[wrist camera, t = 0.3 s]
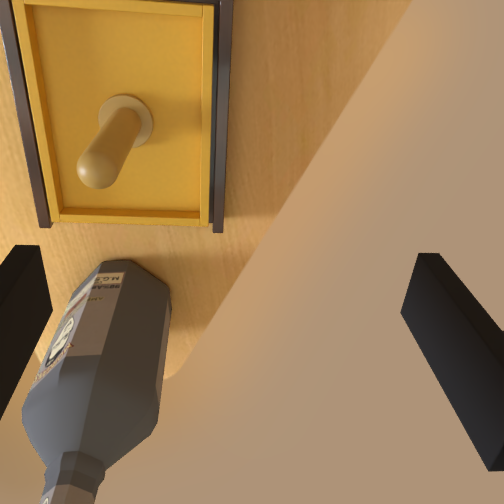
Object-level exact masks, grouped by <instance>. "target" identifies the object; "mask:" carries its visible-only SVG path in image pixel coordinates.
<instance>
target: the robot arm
mask: <svg viewBox="0 0 504 504" xmlns="http://www.w3.org/2000/svg"><path fill="white" fill-rule="evenodd" d="M52 312H53V308H52V304H51V299H50V294H49V289H48V284H47V280H46V275H45V270H44V265H43V260H42V256H41V251H40V246H39V245H15V246H14V247H13V249H12V250H11V251H10V253H9V254H8V255H7V257H6V258H5V260H4V261H3V262H2V264H1V265H0V420H1V418H2V416H3V413H4V411H5V409H6V407H7V405H8V403H9V401H10V399H11V397H12V395H13V393H14V390H15V388H16V386H17V384H18V382H19V380H20V378H21V376H22V374H23V372H24V370H25V368H26V365H27V363H28V361H29V359H30V357H31V355H32V353H33V351H34V349H35V347H36V345H37V343H38V341H39V339H40V337H41V334H42V332H43V330H44V328H45V326H46V324H47V322H48V320H49V318H50V316H51V314H52ZM401 315H402V316H403V318H404V320H405V321H406V324H407V325H408V327H409V329H410V331H411V333H412V335H413V336H414V338H415V340H416V342H417V344H418V345H419V347H420V349H421V351H422V353H423V354H424V356H425V358H426V360H427V362H428V363H429V365H430V367H431V369H432V371H433V372H434V374H435V376H436V378H437V380H438V381H439V383H440V385H441V387H442V389H443V390H444V392H445V394H446V396H447V398H448V399H449V401H450V403H451V405H452V407H453V408H454V410H455V412H456V414H457V416H458V417H459V419H460V421H461V423H462V425H463V426H464V428H465V430H466V432H467V434H468V436H469V437H470V439H471V441H472V443H473V444H474V446H475V448H476V450H477V452H478V454H479V455H480V457H481V459H482V461H483V463H484V464H485V466H486V468H487V470H488V471H504V331H502V330H501V329H500V328H499V327H498V325H497V324H496V323H495V322H494V320H493V319H492V318H491V317H490V315H489V314H488V313H487V312H486V311H485V309H484V308H483V307H482V306H481V304H480V303H479V302H478V301H477V300H476V298H475V297H474V296H473V295H472V293H471V292H470V291H469V290H468V288H467V287H466V286H465V285H464V283H463V282H462V281H461V280H460V279H459V277H458V276H457V275H456V274H455V273H454V271H453V270H452V269H451V268H450V266H449V265H448V264H447V263H446V261H445V260H444V259H443V258H442V256H440V254H439V253H419V254H418V257H417V260H416V263H415V266H414V270H413V273H412V276H411V280H410V283H409V286H408V289H407V293H406V296H405V299H404V303H403V306H402V309H401Z"/></svg>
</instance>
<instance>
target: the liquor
mask: <svg viewBox="0 0 504 504" xmlns="http://www.w3.org/2000/svg"><path fill="white" fill-rule="evenodd" d="M171 311H172V306H171V298H170V290H169V288H168V287H167V285H166V284H164V283H163V282H161V281H160V280H158V279H157V278H155V277H154V276H152V275H151V274H149V273H148V272H147V271H145V270H144V269H142V268H141V267H139V266H138V265H136V264H135V263H133V262H132V261H130V260H121V261H105V262H102V263H101V264H100V265H99V266H98V267H97V268H96V269H95V270H94V271H93V272H92V273H91V275H90V276H89V277H88V278H87V279H86V280H85V281H84V282H83V283H82V284H81V285H80V286H79V287H78V288H77V289H76V290H75V291H74V293H73V294H72V296H71V299H70V301H69V303H68V305H67V308H66V310H65V312H64V314H63V317H62V319H61V321H60V323H59V326H58V328H57V330H56V332H55V335H54V337H53V339H52V341H51V344H50V346H49V348H48V350H47V353H46V355H45V357H44V359H43V362H42V364H41V366H40V369H39V371H38V373H37V375H36V378H35V380H34V382H33V384H32V387H31V389H30V391H29V393H28V396H27V398H26V400H25V402H24V405H23V407H22V423H23V426H24V428H25V430H26V433H27V435H28V437H29V439H30V442H31V444H32V445H33V447H34V448H35V450H36V451H37V453H38V454H39V456H40V458H41V459H42V461H43V462H44V463H45V465H46V467H47V469H46V471H45V474H44V475H45V481H46V483H45V487H44V490H43V494H42V497H41V501H40V503H39V504H94V502H95V497H96V494H97V490H98V487H99V485H100V484H101V482H102V481H103V480H104V477H105V471H106V470H107V469H108V468H109V467H110V466H112V465H113V464H114V463H116V462H117V461H118V460H119V459H120V458H122V457H123V456H124V455H126V454H127V453H128V452H129V451H131V450H132V449H133V448H134V447H136V446H137V445H138V444H139V443H141V442H142V441H143V440H144V439H146V438H147V437H148V436H150V435H151V433H152V431H153V429H154V428H155V426H156V424H157V421H158V414H159V406H160V398H161V390H162V382H163V374H164V366H165V359H166V351H167V343H168V335H169V327H170V319H171Z"/></svg>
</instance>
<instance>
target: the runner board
mask: <svg viewBox="0 0 504 504" xmlns="http://www.w3.org/2000/svg"><path fill="white" fill-rule="evenodd" d="M166 1H178V2H191V3H204V4H214V28H213V68H212V107H211V147H210V186H209V223H213V233H223V223H224V201H225V179H226V156H227V134H228V112H229V89H230V67H231V45H232V22H233V0H166ZM0 29H1V34H2V39H3V44H4V49H5V54H6V60H7V65H8V70H9V75H10V80H11V85H12V90H13V95H14V100H15V105H16V110H17V115H18V121H19V126H20V131H21V136H22V141H23V146H24V151H25V156H26V161H27V166H28V171H29V177H30V182H31V187H32V192H33V197H34V202H35V207H36V212H37V217H38V222H39V227H40V228H51V226H52V225H53V223H54V222H52V221H51V216H50V210H49V204H48V199H47V193H46V188H45V182H44V177H43V171H42V165H41V160H40V154H39V149H38V143H37V138H36V132H35V126H34V121H33V115H32V110H31V104H30V99H29V93H28V87H27V82H26V76H25V71H24V65H23V60H22V54H21V48H20V43H19V37H18V32H17V26H16V21H15V15H14V9H13V4H12V0H0Z"/></svg>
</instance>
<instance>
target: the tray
mask: <svg viewBox="0 0 504 504" xmlns="http://www.w3.org/2000/svg"><path fill="white" fill-rule="evenodd" d="M12 4H13V9H14V15H15V21H16V26H17V32H18V37H19V43H20V48H21V54H22V60H23V65H24V71H25V76H26V82H27V87H28V93H29V99H30V104H31V110H32V115H33V121H34V126H35V132H36V138H37V143H38V149H39V154H40V160H41V165H42V171H43V177H44V182H45V188H46V193H47V199H48V204H49V210H50V216H51V221H52V222H73V223H107V224H140V225H174V226H206V227H208V226H209V186H210V147H211V107H212V68H213V28H214V4H204V3H191V2H178V1H166V0H12Z"/></svg>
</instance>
